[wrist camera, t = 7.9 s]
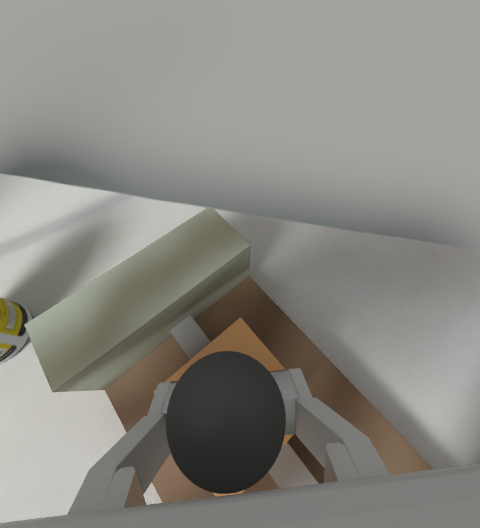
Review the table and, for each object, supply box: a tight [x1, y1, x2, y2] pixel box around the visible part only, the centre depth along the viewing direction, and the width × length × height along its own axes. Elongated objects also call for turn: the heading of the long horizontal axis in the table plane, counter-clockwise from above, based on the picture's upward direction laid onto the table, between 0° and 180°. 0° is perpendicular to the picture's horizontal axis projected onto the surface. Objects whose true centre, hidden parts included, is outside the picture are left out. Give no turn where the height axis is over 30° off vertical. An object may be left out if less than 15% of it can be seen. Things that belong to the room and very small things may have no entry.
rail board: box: [25, 206, 433, 503], centre depth 12 cm, size 26×12×6 cm, turn 40°
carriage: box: [153, 317, 294, 497], centre depth 10 cm, size 6×6×9 cm
